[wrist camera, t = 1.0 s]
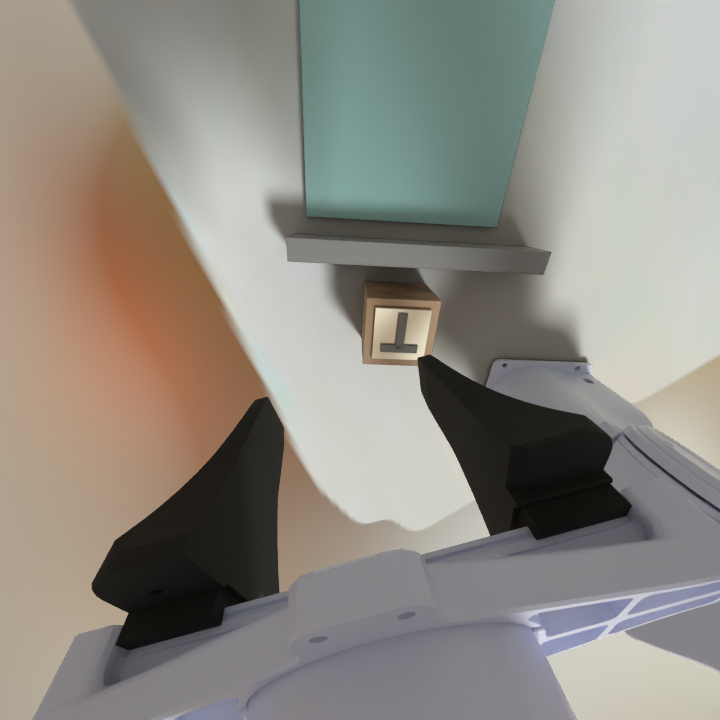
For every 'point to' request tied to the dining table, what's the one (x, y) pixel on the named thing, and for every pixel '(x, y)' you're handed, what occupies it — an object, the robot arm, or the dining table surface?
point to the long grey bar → (415, 254)
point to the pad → (416, 105)
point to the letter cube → (398, 322)
